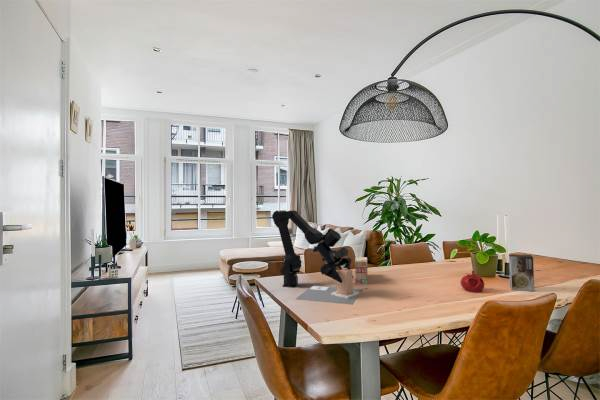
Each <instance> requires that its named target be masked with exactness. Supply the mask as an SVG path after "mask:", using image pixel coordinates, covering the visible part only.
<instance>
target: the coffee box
mask: <svg viewBox="0 0 600 400" xmlns="http://www.w3.org/2000/svg"><path fill="white" fill-rule="evenodd" d="M508 267H509V272H508V273H509V287H510V289H511V290H513V291H520V292H521V291H524V292H535V273H534V271H535V270H534V269H535V268H534V267H535V266H534V257H533V256H532V254H514V253H509V254H508Z"/></svg>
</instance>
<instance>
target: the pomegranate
mask: <svg viewBox="0 0 600 400" xmlns="http://www.w3.org/2000/svg"><path fill="white" fill-rule="evenodd" d="M474 273H475V270H471V273H470V272H468V273H467V272H466V273H465V275H464V276H462V278H461V280H460V285H461V287H462V289H463V290H465V291H467V292H471V293H478V292H479V293H481V292H482V291H483V290H484V288H485V283H484V280H483V278H482V276H480V275H479V273H475V274H474Z"/></svg>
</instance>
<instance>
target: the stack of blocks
mask: <svg viewBox="0 0 600 400" xmlns="http://www.w3.org/2000/svg"><path fill="white" fill-rule="evenodd" d="M354 259H355V260H354V267H355V268H354V271H355V272H354V273H355V274H354V276H355V277H354V282H355V283H354V285H361V286H362V285H365V286H366V285H367V286H368V278H369V277H368V257H367V256H366V257H365V256H363V257H362V256H360V257H359V256H355V258H354Z"/></svg>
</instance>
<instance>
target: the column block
mask: <svg viewBox="0 0 600 400" xmlns="http://www.w3.org/2000/svg"><path fill="white" fill-rule="evenodd" d="M336 271H337V273H338V274H339V276H340V277H341V279H342V281H343V282H342V283H340V282H338V281H336V287H337V294H341V295H346V296H348V295H351V294H353V284H354V283H353V281H354V280H353V279H354V278H353V277H354V275H353V269H351V268H350V269H347V268H342V269H340V268H338V269H336Z"/></svg>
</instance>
